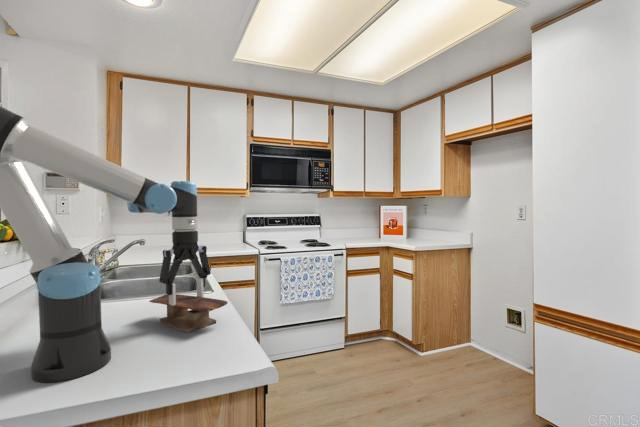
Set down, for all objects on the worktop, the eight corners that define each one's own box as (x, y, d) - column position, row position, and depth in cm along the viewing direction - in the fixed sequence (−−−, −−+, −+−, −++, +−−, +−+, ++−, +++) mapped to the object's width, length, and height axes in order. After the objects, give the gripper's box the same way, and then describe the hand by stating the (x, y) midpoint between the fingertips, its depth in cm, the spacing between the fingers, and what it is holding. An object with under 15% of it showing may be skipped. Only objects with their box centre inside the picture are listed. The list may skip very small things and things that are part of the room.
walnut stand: (186, 333, 99) (186, 316, 99) (159, 321, 109) (159, 306, 108) (216, 323, 107) (215, 307, 106) (188, 313, 116) (187, 299, 116)
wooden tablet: (145, 297, 109) (172, 287, 118) (146, 304, 109) (173, 293, 118) (204, 309, 96) (229, 296, 105) (205, 317, 97) (230, 303, 105)
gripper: (157, 233, 96) (159, 312, 97) (221, 228, 113) (222, 295, 114) (144, 232, 100) (146, 307, 101) (208, 227, 118) (209, 292, 118)
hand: (186, 301), depth 107 cm, fingers closed on wooden tablet, 9 cm apart
